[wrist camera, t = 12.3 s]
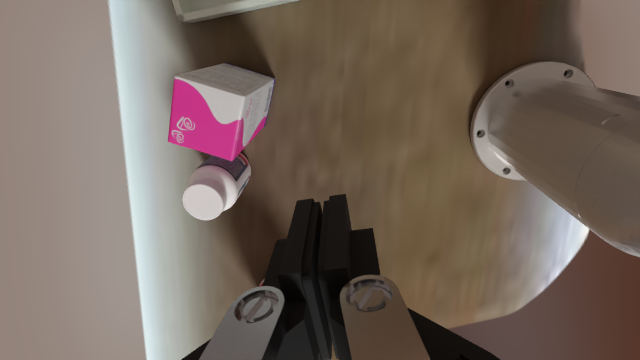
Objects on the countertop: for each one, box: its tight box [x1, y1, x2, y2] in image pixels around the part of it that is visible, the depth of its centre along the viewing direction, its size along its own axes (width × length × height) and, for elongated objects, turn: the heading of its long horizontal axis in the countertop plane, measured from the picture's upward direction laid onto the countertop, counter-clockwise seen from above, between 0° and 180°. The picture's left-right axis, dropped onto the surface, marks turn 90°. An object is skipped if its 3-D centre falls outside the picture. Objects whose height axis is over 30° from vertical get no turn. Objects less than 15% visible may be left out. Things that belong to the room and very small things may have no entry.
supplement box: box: [168, 63, 275, 161], centre depth 32 cm, size 6×6×12 cm
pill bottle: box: [183, 153, 251, 220], centre depth 36 cm, size 5×5×9 cm
